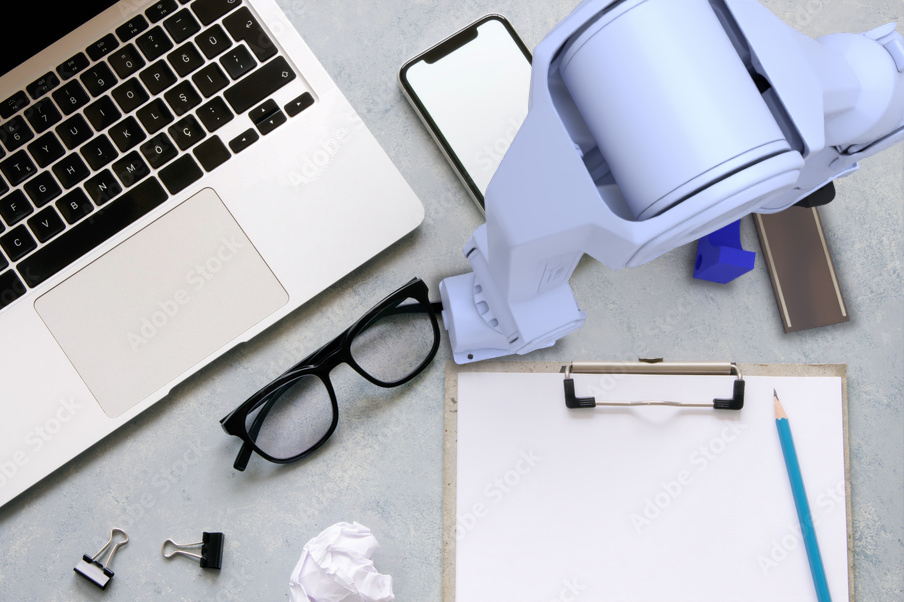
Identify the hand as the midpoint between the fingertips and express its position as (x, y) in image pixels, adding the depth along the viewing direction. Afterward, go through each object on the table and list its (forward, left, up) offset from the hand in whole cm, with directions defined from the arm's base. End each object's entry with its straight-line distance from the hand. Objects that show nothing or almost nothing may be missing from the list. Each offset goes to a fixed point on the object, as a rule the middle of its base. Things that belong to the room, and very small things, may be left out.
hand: (721, 210), depth 69 cm
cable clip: (0, 0, -3) cm, 3 cm away
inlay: (+7, -5, -3) cm, 9 cm away
